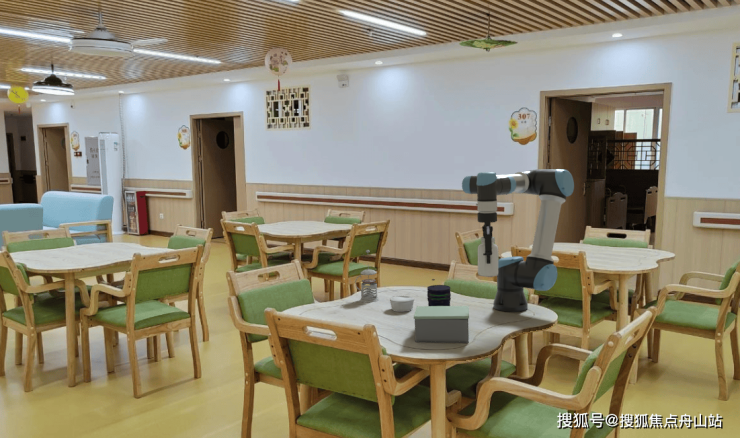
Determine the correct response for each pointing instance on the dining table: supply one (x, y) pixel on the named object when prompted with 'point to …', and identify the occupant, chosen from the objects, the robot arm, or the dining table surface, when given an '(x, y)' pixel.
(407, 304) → the ramekin
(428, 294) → the storage jar
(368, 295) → the french press
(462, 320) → the storage box
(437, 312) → the box lid
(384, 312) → the dining table surface
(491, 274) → the pill bottle
